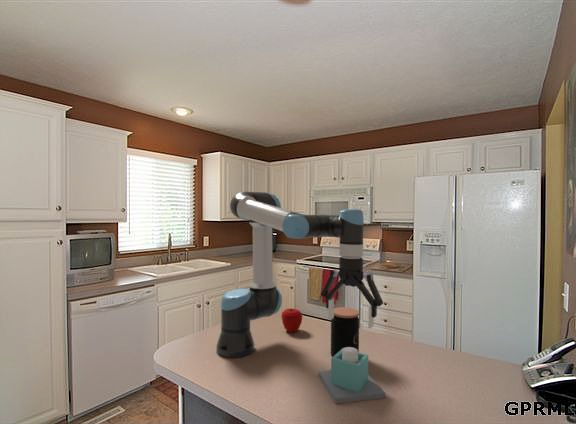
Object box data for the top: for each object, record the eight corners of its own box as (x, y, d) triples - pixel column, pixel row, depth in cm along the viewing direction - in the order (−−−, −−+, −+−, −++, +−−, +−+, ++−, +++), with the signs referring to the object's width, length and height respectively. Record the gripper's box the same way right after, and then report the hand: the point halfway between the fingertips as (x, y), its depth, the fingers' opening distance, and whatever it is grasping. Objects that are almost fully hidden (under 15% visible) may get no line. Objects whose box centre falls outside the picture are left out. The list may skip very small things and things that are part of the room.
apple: (306, 330, 148) (306, 307, 148) (293, 336, 140) (293, 312, 140) (290, 325, 154) (290, 303, 154) (277, 330, 147) (277, 307, 147)
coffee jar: (359, 365, 114) (359, 316, 114) (329, 362, 116) (330, 314, 116) (358, 353, 124) (358, 308, 124) (331, 350, 126) (332, 306, 126)
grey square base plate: (318, 375, 106) (318, 342, 106) (361, 371, 109) (362, 338, 110) (335, 403, 91) (335, 364, 91) (385, 397, 94) (385, 359, 94)
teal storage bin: (331, 383, 99) (331, 358, 99) (342, 371, 106) (342, 348, 106) (358, 392, 94) (358, 366, 94) (368, 379, 101) (368, 354, 101)
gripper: (393, 259, 97) (392, 327, 97) (321, 252, 110) (321, 312, 110) (386, 262, 90) (386, 334, 90) (311, 254, 104) (310, 318, 104)
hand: (350, 322), depth 100 cm, fingers open, 13 cm apart
